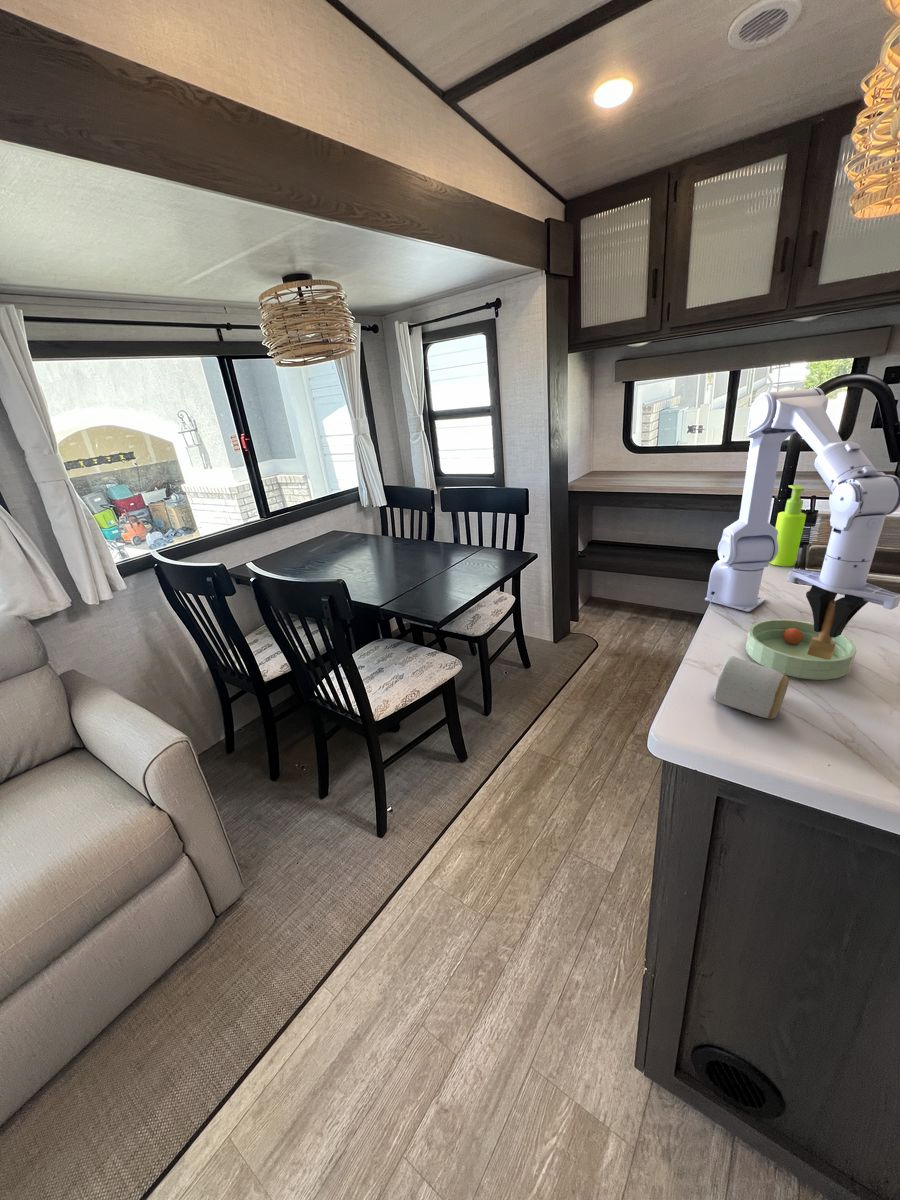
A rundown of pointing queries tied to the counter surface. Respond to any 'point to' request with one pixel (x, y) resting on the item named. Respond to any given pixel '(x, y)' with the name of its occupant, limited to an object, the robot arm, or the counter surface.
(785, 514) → the soap dispenser
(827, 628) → the brown handled stamp
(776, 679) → the ceramic mug
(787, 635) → the ball
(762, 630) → the bowl
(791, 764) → the counter surface
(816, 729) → the counter surface
